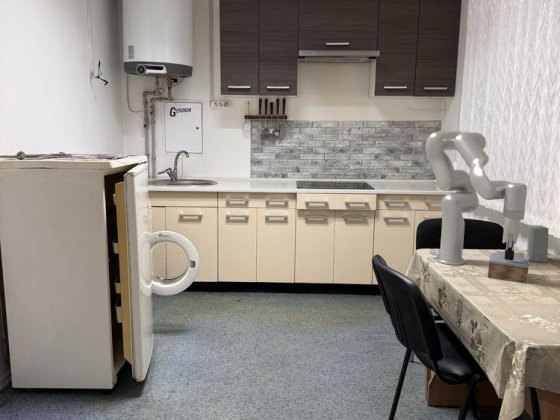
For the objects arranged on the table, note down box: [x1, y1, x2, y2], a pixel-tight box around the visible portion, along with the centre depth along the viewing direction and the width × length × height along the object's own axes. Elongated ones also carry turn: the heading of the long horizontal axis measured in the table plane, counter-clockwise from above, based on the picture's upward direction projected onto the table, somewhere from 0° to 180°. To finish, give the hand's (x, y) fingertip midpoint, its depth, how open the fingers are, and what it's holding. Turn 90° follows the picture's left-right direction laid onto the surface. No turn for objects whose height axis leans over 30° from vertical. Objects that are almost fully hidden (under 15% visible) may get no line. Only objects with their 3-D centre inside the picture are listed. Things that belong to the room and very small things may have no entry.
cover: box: [488, 249, 530, 269], centre depth 184 cm, size 14×14×4 cm
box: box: [487, 262, 529, 284], centre depth 185 cm, size 14×14×6 cm
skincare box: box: [526, 224, 550, 263], centre depth 209 cm, size 8×7×16 cm
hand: (508, 259), depth 180 cm, fingers closed
